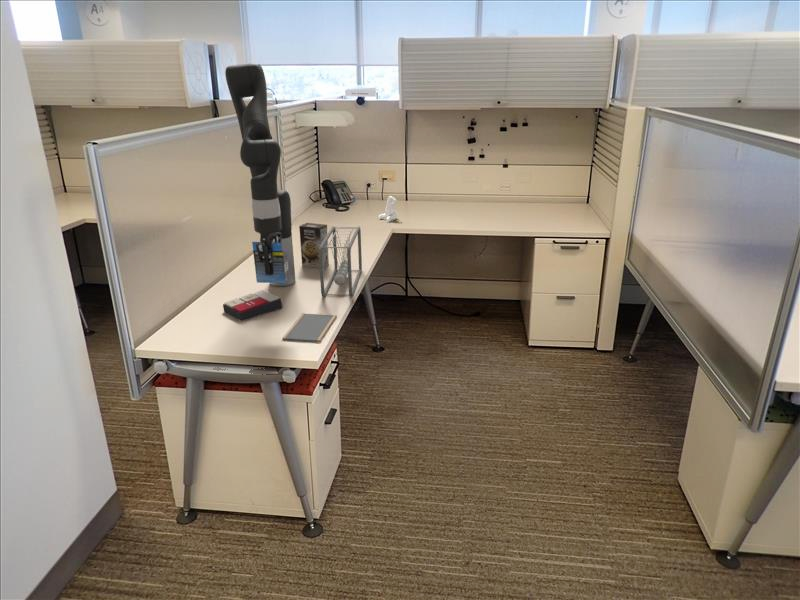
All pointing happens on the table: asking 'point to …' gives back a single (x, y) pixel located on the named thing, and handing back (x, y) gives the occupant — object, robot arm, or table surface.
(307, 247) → the coffee box
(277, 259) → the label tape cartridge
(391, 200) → the sitting furry creature
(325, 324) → the mat
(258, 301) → the black red flat box
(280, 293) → the table surface
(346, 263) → the newton's cradle
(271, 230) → the robot arm
